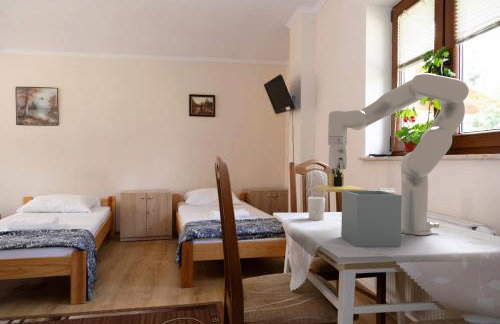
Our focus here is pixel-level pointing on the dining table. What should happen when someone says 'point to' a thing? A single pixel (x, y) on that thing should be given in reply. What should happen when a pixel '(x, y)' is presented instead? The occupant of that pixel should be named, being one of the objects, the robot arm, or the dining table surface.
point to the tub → (371, 218)
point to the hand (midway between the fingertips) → (335, 185)
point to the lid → (338, 189)
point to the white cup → (316, 208)
